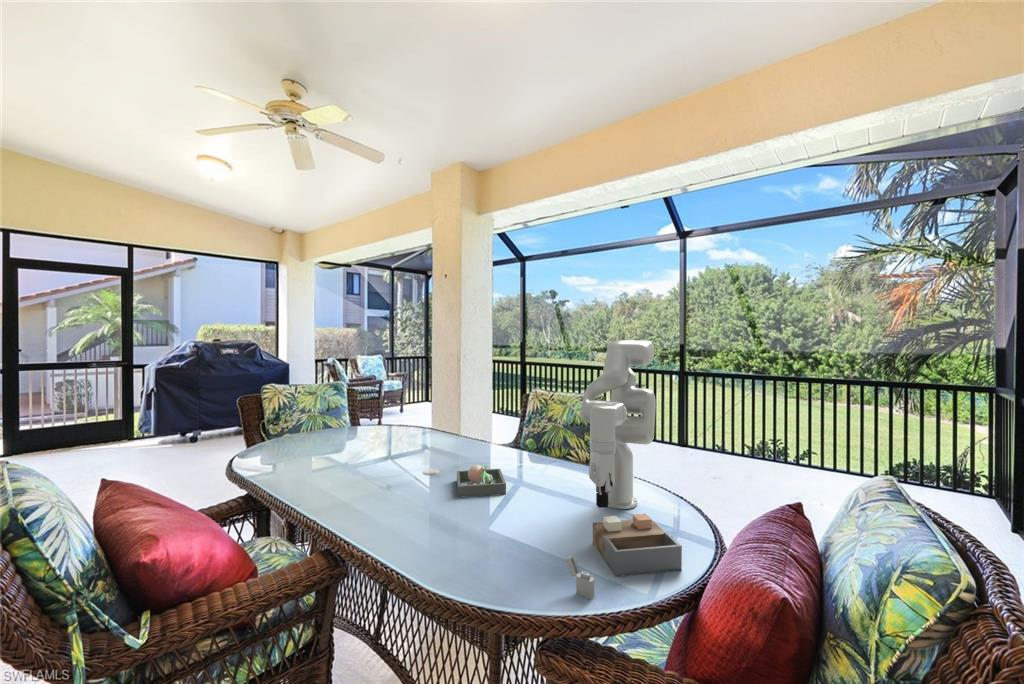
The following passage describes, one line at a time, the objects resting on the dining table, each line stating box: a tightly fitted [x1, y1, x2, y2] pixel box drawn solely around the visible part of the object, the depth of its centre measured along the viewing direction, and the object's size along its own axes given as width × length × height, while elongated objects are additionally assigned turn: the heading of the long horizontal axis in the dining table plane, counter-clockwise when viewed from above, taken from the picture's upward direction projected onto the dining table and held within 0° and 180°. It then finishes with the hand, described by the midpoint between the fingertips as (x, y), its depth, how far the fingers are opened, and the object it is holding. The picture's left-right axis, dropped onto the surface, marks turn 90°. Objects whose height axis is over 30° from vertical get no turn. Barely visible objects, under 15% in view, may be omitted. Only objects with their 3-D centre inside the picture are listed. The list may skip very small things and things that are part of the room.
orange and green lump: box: [466, 464, 494, 485], centre depth 179 cm, size 12×10×9 cm
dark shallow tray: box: [456, 468, 507, 498], centre depth 179 cm, size 18×18×4 cm
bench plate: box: [592, 519, 665, 561], centre depth 129 cm, size 10×18×6 cm, turn 99°
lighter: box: [564, 555, 595, 600], centre depth 109 cm, size 7×2×8 cm, turn 52°
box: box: [604, 531, 683, 578], centre depth 120 cm, size 8×18×6 cm, turn 99°
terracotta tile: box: [632, 513, 653, 529], centre depth 131 cm, size 4×4×2 cm
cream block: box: [602, 515, 623, 532], centre depth 129 cm, size 4×4×2 cm
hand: (602, 506), depth 137 cm, fingers closed
